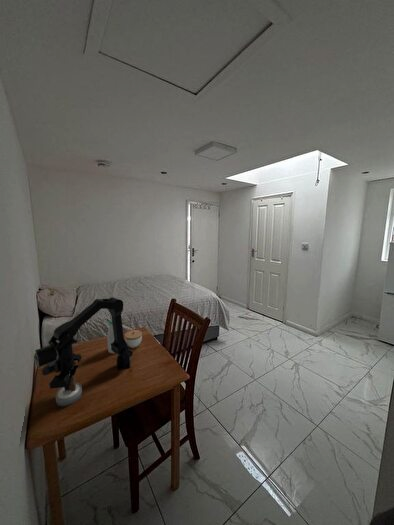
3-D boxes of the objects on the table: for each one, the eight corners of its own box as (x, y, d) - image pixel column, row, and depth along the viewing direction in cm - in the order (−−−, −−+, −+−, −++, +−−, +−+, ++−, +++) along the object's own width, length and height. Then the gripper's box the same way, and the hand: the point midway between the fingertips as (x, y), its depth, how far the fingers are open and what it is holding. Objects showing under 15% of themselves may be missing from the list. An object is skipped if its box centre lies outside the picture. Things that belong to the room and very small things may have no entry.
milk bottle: (113, 355, 125) (111, 323, 122) (105, 351, 129) (103, 320, 126) (124, 349, 132) (122, 319, 128) (116, 345, 136) (114, 316, 132)
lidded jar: (122, 344, 137) (121, 331, 135) (137, 338, 144) (137, 326, 142) (129, 351, 129) (129, 337, 127) (145, 345, 136) (144, 332, 135)
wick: (75, 388, 95) (74, 374, 94) (74, 390, 93) (73, 376, 92) (66, 389, 94) (64, 375, 93) (64, 392, 93) (63, 377, 92)
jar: (85, 387, 100) (84, 379, 99) (77, 404, 90) (76, 395, 89) (62, 390, 98) (61, 381, 97) (51, 407, 88) (50, 398, 88)
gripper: (54, 344, 98) (58, 374, 101) (32, 371, 80) (36, 406, 83) (80, 342, 100) (83, 372, 103) (64, 368, 82) (67, 402, 85)
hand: (68, 386), depth 93 cm, fingers open, 3 cm apart
